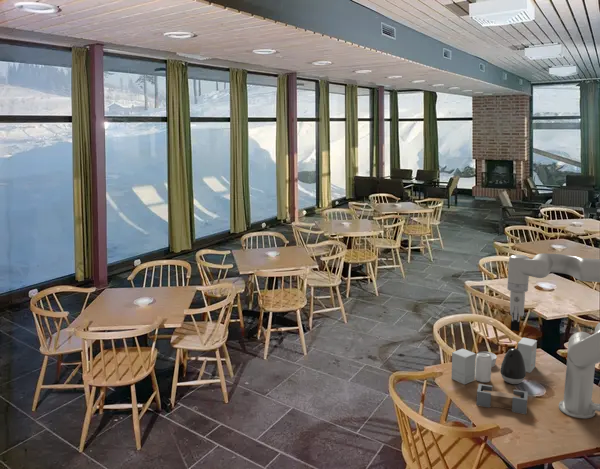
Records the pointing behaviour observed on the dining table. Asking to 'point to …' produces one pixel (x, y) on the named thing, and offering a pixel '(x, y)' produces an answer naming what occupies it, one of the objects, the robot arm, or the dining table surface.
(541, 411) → the dining table surface
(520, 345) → the small box
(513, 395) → the slat
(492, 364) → the ramekin
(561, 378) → the dining table surface
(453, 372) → the supplement box
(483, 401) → the endcaps
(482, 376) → the can
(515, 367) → the dark grey egg shape
